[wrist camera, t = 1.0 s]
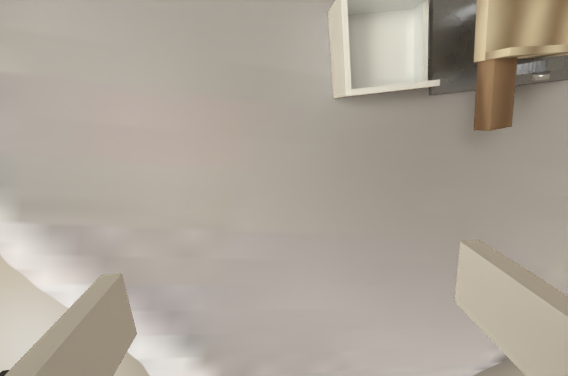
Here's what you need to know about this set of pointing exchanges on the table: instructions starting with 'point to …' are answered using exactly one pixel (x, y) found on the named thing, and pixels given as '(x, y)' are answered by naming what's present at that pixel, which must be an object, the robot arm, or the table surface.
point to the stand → (460, 51)
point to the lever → (512, 50)
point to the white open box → (378, 46)
